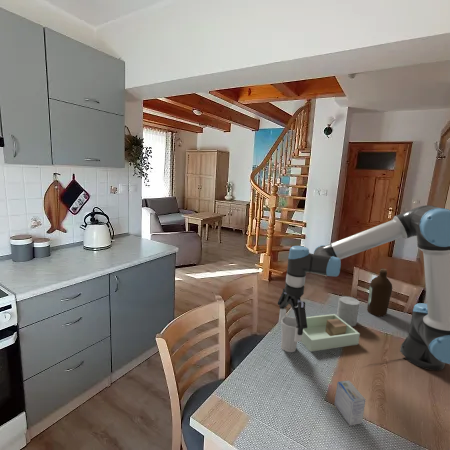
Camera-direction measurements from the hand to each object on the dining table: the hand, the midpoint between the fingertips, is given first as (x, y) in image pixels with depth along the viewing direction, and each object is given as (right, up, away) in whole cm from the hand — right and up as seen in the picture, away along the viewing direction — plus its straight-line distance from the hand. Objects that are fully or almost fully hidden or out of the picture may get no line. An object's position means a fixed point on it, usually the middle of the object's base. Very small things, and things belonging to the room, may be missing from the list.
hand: (289, 331), depth 116 cm
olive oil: (+57, -4, +36) cm, 67 cm away
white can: (+34, -5, +23) cm, 42 cm away
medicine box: (+11, -14, -30) cm, 35 cm away
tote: (+17, -7, +9) cm, 21 cm away
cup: (0, -8, +1) cm, 8 cm away
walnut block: (+24, -6, +11) cm, 27 cm away
